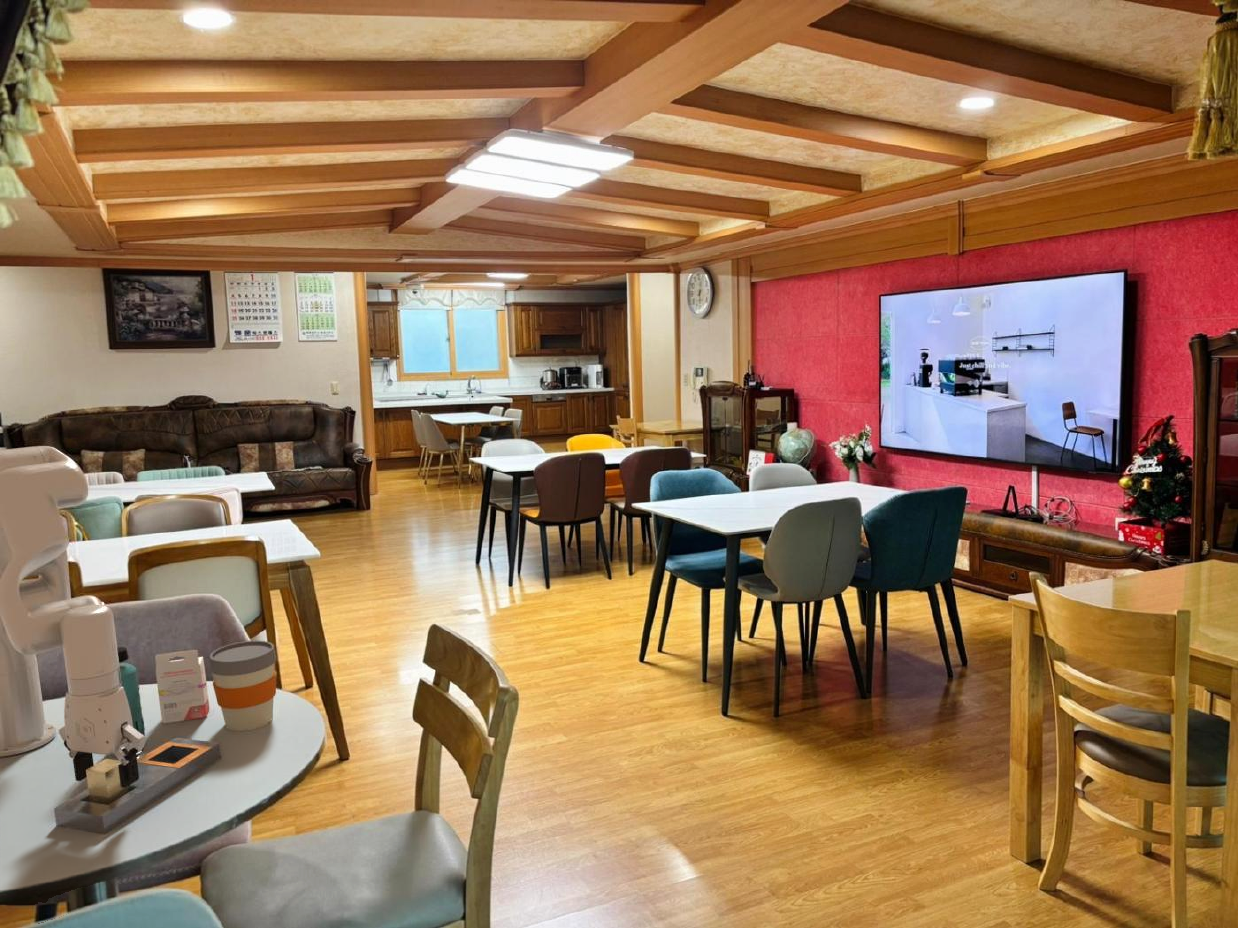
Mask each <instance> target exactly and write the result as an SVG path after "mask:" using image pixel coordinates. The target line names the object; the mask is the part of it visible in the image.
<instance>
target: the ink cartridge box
mask: <svg viewBox="0 0 1238 928" xmlns="http://www.w3.org/2000/svg"><path fill="white" fill-rule="evenodd" d="M175 657H179V658H182V659H177V660H176V659H175ZM154 659H155V666H156V668H155V677H156V684H157V693H158V700H159V702H158V703H159V706H160V717H161V722H162V724H171V723H176V722H177V723H178V722H182V721H191V720H198V719H204V718H207V716H208V713H209V711H210V709H211V708H210V700H209V693H208V692H209V690H208V685H207V684H208V683H207V675H206V668H205V661H204V660H205V659H204V656H199V652H198V650H197V649H192V650H191V649H190V650H183V651H175V652H174V651H173V652H168V653H162V654H161V653H160V654H158V653H157V654H155V657H154ZM170 659H175V660H170Z"/></svg>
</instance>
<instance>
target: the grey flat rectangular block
mask: <svg viewBox="0 0 1238 928" xmlns="http://www.w3.org/2000/svg"><path fill="white" fill-rule="evenodd" d="M221 759H222V753H221V743H220V742H216V741H215V742H213V741H208V740H207V741H206V740H198V739H190V738H181V737H175V738H173V739H171V740H169V741H167V742H165V743H164V744H161V745H160V746H158V747H156V748H154V750H152V751H150V752H148V753H146V754H145V755H143V756H140V757H138V758H137V764H138V772H139V779H138V780H137V781H136V782H134V783H132V784H131V785H129V786H128V790H129V793H127V794H125V795H124V796H122V797H121V798H119V799H117V800H116V801H114V802H112V803H111V804H109V805H105V804H99V803H92V802H90V798H89V790H88V788H87V789H85V790H83V791H81V792H80V793H78V794H77V795H75V796H73V797H71V798H69V799H68V800H66V801H64V802H63V803H61V804H59V805H58V806H56V807H54V809H53V811H54V817H55V824H56V825H55V826H57V827H63V828H68V829H74V830H81V831H85V832H86V831H87V832H92V833H93V832H94V833H99V834H103V835H104V834H107V833H108V832H110V831H111V830H113V829H114V828H116V827H117V826H119V825H120V824H122V823H123V822H125V821H127V820H128V819H129V818H131V817H134V816H135V815H136V814H138V813H140V812H141V811H142V810H143V809H145V808H147V807H148V806H149V805H152V804H153V803H155V802H156V801H158V800H159V799H160V798H162V797H164V796H166V795H167V794H168V793H170V792H172V791H173V790H175V789H176V788H177V787H179V786H180V785H182V784H184V783H185V782H187V781H188V780H190V779H192V777H195V776H196V775H198V774H199V773H201V772H203V771H204V770H205V769H207V768H209V767H210V766H211V765H214V764H215V763H216V762H218V761H219V760H221ZM174 762H175V763H174ZM163 795H164V796H163Z"/></svg>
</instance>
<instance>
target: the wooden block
mask: <svg viewBox="0 0 1238 928" xmlns="http://www.w3.org/2000/svg"><path fill="white" fill-rule="evenodd" d="M120 764H121V762H120V761H119V759H118V760H117V759H110V758H105V759H103V760H101V761H99V762H97V763H96V764H94V766H92V767H90V768H89V769H87V770H86V775H87V777H86V781H87V782H86V783H87V789H88V790H89V798H90V802H92V803H99V804H105V805H109V804H111V803H112V802H114V801H116V800H117V799H119V798H121V797H122V796H124V795H125V794H127V793H129V790H128V786H127V787H126V788H123V787H121V785H120V777H119V769H118V765H120Z"/></svg>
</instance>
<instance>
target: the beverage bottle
mask: <svg viewBox="0 0 1238 928" xmlns="http://www.w3.org/2000/svg"><path fill="white" fill-rule="evenodd" d="M117 650H118V658H119V666H120V673H121V681H122V687H124V690H125V693H126V696H127V699H128V703H129V707H130V711H131V716H132V722H133V728H134V729H136V730H137V731H138V732H140V733H141V734H142V735H144V736H145V737H146V734H145V733H146V732H145V731H146V729H145V719H144V715H143V707H142V705H141V703H142V702H141V693H140V690H141V689H140V684H139V680H138V673H137V667H136V666H134V665H132V664H130V663H128V662H125V661H127V660H128V659H129V653H128V649H127V647H123V646H117ZM132 744H133V743H132ZM120 745H121V744H120Z"/></svg>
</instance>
